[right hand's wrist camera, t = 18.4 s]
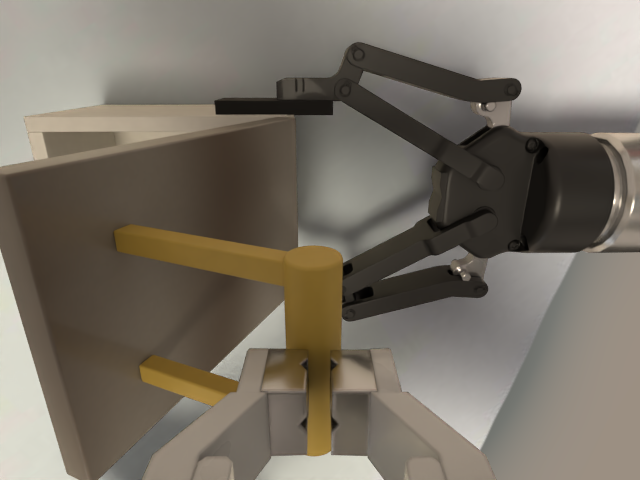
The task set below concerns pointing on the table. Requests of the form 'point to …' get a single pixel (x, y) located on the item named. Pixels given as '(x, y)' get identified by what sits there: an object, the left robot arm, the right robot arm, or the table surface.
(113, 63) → the table surface
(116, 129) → the chest
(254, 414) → the right robot arm
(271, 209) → the lid
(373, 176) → the table surface
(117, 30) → the table surface
